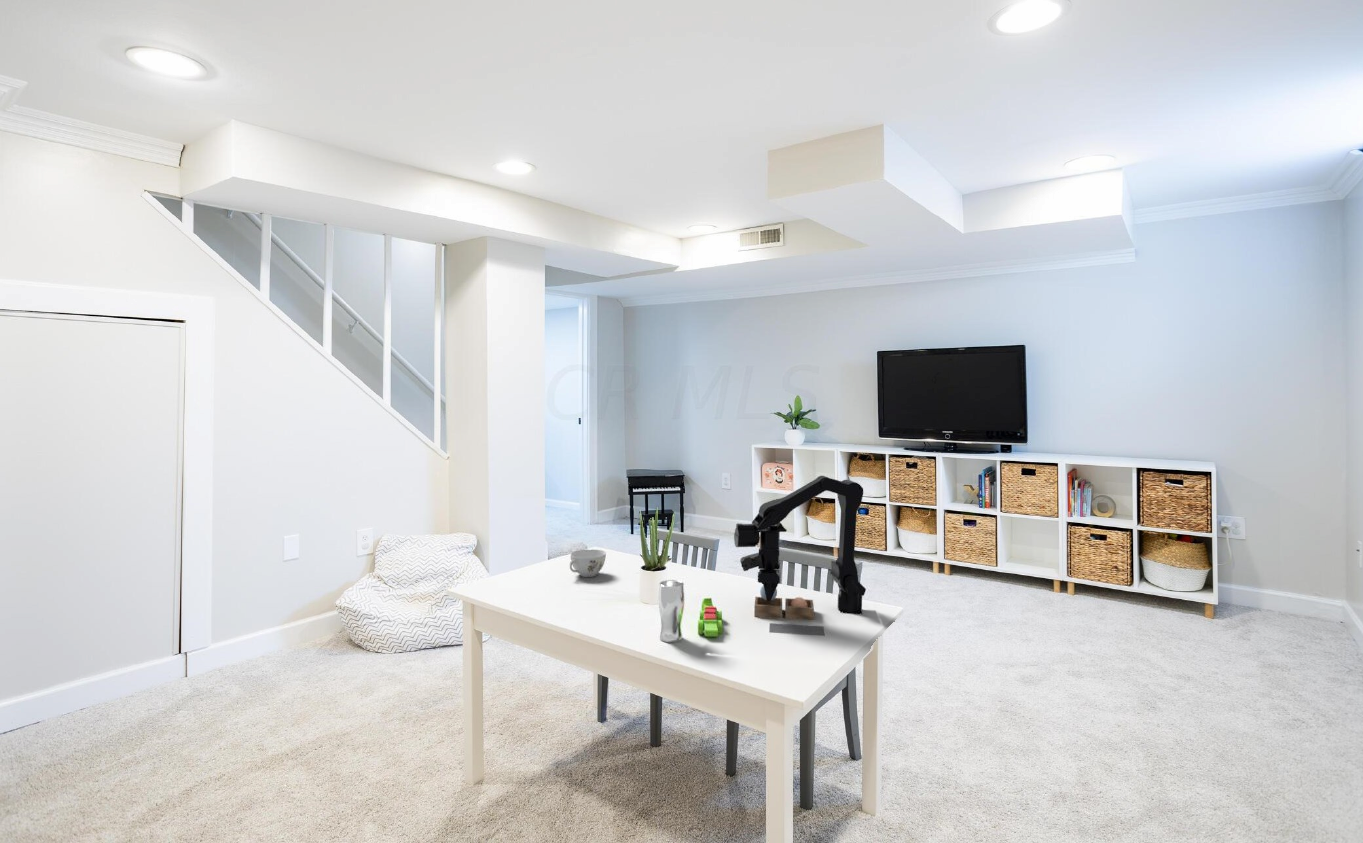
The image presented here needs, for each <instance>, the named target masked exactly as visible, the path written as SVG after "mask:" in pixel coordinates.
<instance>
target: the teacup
mask: <svg viewBox="0 0 1363 843" xmlns="http://www.w3.org/2000/svg"><path fill="white" fill-rule="evenodd" d="M606 556H607V552H606V551H605V550H602V549H579V550H575V551H572V552H571V553H570V562H569V569H570V571H571V572H572V573H577V574H579V575H580V576H581V577H583V578H591V577H596V576H597V575H598V573H600V571H601V570H602V569H603V567H604V565H605V562H606ZM572 567H573V568H572Z"/></svg>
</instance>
